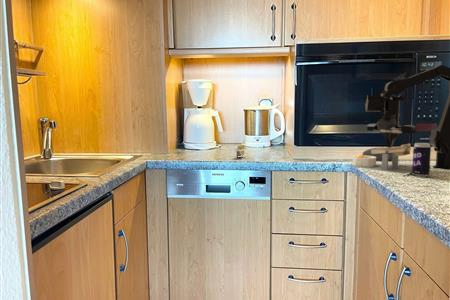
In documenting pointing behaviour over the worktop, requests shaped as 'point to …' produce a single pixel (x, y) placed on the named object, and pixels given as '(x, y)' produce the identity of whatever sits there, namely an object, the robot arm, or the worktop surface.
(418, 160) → the beverage can
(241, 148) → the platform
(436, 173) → the worktop surface
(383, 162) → the launcher base
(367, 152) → the perforated stone tool
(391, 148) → the wooden tray
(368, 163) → the beige round puck
